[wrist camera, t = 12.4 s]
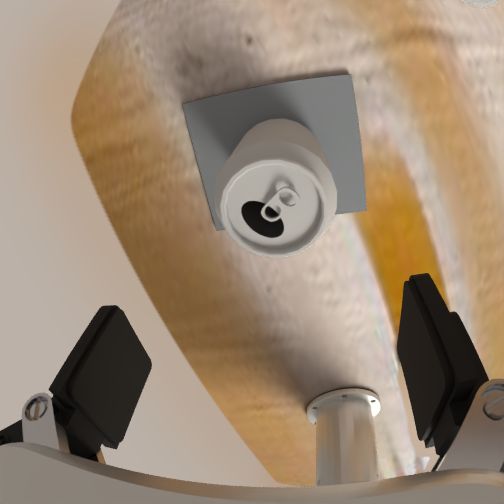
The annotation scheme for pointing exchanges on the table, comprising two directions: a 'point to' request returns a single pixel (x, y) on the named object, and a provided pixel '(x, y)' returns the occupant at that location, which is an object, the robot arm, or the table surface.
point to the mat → (292, 108)
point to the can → (276, 190)
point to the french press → (481, 3)
